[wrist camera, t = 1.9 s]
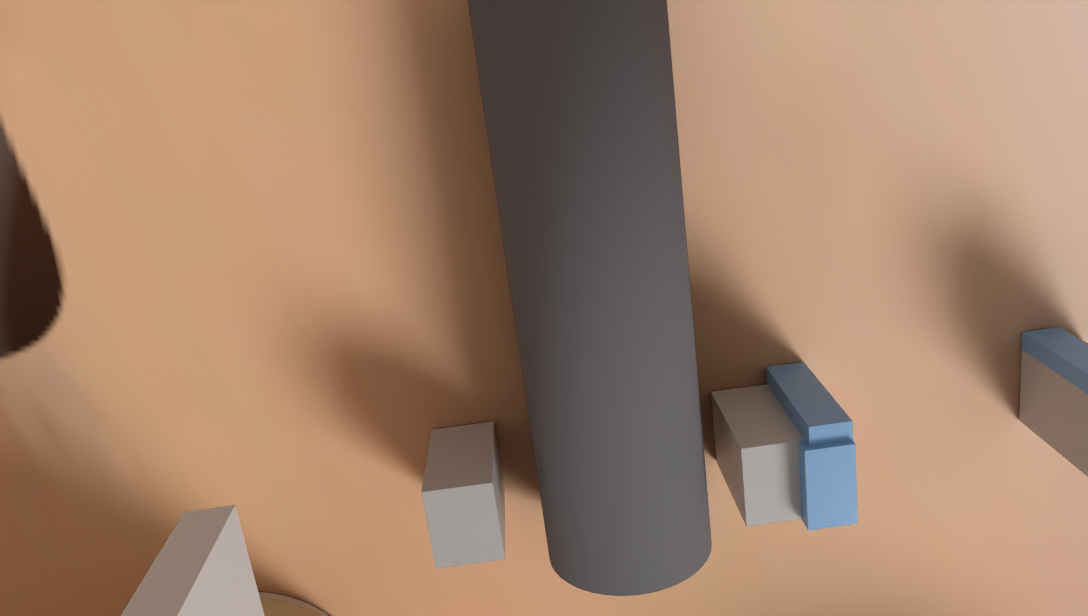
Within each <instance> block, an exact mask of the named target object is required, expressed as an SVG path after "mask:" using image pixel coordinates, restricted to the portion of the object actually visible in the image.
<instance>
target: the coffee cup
mask: <svg viewBox="0 0 1088 616" xmlns="http://www.w3.org/2000/svg"><path fill="white" fill-rule="evenodd" d="M258 593H259V597H260V600H261V604H262V608H263V612H264V615H265V616H329V615H328V614H326V613H325V612H323V611H321V610H320V609H318V608H316V607H314V606H312V605H311V604H308V603H306V602H303V601H301V600H298V599H295V598H292V597H289V596H284V595H280V594H275V593H266V592H258Z"/></svg>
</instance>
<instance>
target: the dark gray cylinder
mask: <svg viewBox="0 0 1088 616" xmlns="http://www.w3.org/2000/svg"><path fill="white" fill-rule="evenodd" d="M468 5H469V12H470V19H471V26H472V33H473V39H474V46H475V53H476V60H477V67H478V73H479V80H480V87H481V94H482V101H483V108H484V114H485V121H486V128H487V135H488V142H489V148H490V155H491V162H492V169H493V176H494V182H495V189H496V196H497V203H498V210H499V216H500V223H501V230H502V237H503V244H504V251H505V257H506V264H507V271H508V278H509V285H510V291H511V298H512V305H513V312H514V319H515V325H516V332H517V339H518V346H519V353H520V360H521V366H522V373H523V380H524V387H525V394H526V400H527V407H528V414H529V421H530V428H531V434H532V441H533V448H534V455H535V462H536V469H537V475H538V482H539V489H540V496H541V503H542V509H543V516H544V523H545V530H546V537H547V543H548V550H549V557H550V562H551V565H552V567H553V569H554V570H555V572H556V573H557V574H558V575H559V576H560V577H561V578H562V579H564V580H565V581H566V582H568V583H569V584H571V585H573V586H575V587H577V588H580V589H582V590H585V591H589V592H592V593H598V594H603V595H613V596H629V595H640V594H647V593H652V592H656V591H660V590H663V589H666V588H669V587H672V586H674V585H676V584H679V583H681V582H682V581H684V580H686V579H688V578H689V577H691V576H692V575H693V574H695V573H696V572H697V571H698V570H699V569H700V568H701V567H702V566H703V565H704V563H705V562H706V561H707V559H708V557H709V555H710V551H711V543H712V542H711V530H710V518H709V506H708V494H707V482H706V470H705V458H704V446H703V434H702V422H701V410H700V398H699V386H698V374H697V362H696V350H695V338H694V325H693V313H692V301H691V289H690V277H689V265H688V253H687V241H686V229H685V217H684V205H683V193H682V181H681V169H680V157H679V145H678V133H677V121H676V108H675V96H674V84H673V72H672V60H671V48H670V36H669V24H668V12H667V0H468Z"/></svg>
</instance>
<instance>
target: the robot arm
mask: <svg viewBox="0 0 1088 616" xmlns="http://www.w3.org/2000/svg"><path fill="white" fill-rule="evenodd" d="M121 616H265V615H264V612H263V608H262V604H261V600H260V597H259V593H258V589H257V585H256V582H255V578H254V574H253V570H252V567H251V563H250V559H249V555H248V552H247V548H246V544H245V541H244V537H243V533H242V529H241V526H240V522H239V518H238V514H237V511H236V507H235V505H232V506H225V507H217V508H210V509H202V510H195V511H187V512H184V513H183V515H182V516H181V518H180V520H179V521H178V523H177V524H176V526H175V528H174V529H173V531H172V533H171V534H170V536H169V538H168V539H167V541H166V542H165V544H164V546H163V547H162V549H161V551H160V552H159V554H158V556H157V557H156V559H155V560H154V562H153V564H152V565H151V567H150V569H149V570H148V572H147V573H146V575H145V577H144V578H143V580H142V582H141V583H140V585H139V587H138V588H137V590H136V591H135V593H134V595H133V596H132V598H131V600H130V601H129V603H128V604H127V606H126V608H125V609H124V611H123V613H122V614H121Z"/></svg>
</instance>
